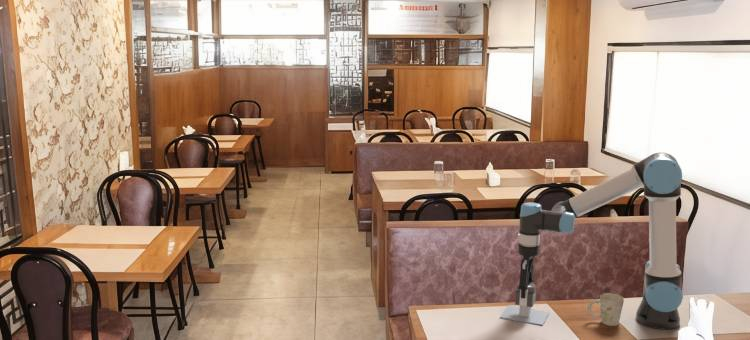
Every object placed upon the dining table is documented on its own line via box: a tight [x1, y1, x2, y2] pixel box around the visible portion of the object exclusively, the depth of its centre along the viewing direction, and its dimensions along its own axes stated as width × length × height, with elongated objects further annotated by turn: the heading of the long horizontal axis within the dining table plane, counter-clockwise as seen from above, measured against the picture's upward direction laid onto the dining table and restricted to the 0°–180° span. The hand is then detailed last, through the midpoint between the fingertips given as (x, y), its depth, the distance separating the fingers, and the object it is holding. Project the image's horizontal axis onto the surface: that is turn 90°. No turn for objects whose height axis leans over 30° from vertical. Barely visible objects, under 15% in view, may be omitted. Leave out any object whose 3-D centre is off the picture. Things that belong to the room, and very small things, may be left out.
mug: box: [586, 292, 625, 327], centre depth 245 cm, size 8×13×10 cm, turn 78°
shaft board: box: [499, 304, 550, 326], centre depth 251 cm, size 16×13×5 cm
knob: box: [514, 282, 537, 308], centre depth 250 cm, size 7×7×8 cm
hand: (525, 301), depth 251 cm, fingers closed on knob, 7 cm apart
